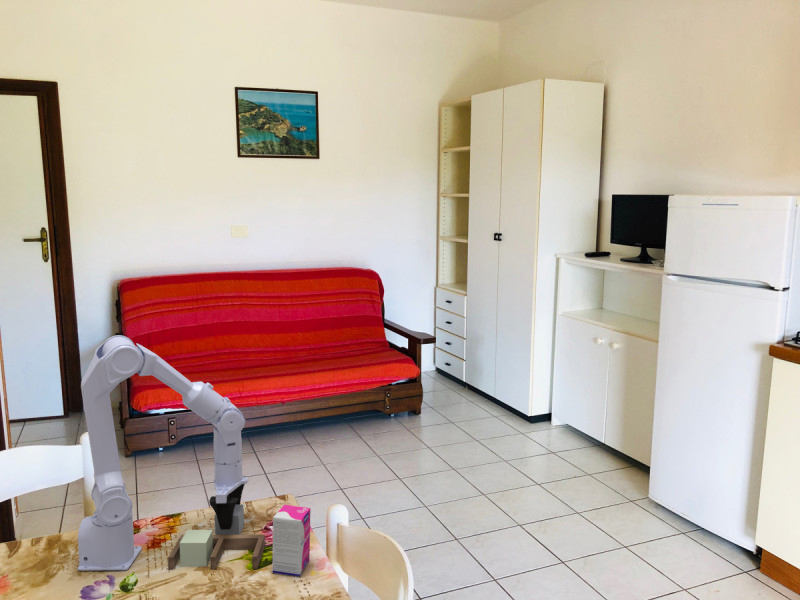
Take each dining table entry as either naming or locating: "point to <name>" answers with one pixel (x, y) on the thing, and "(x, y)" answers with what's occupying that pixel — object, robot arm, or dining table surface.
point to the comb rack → (226, 548)
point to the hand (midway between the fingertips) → (229, 519)
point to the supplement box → (291, 540)
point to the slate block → (236, 523)
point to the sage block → (196, 548)
